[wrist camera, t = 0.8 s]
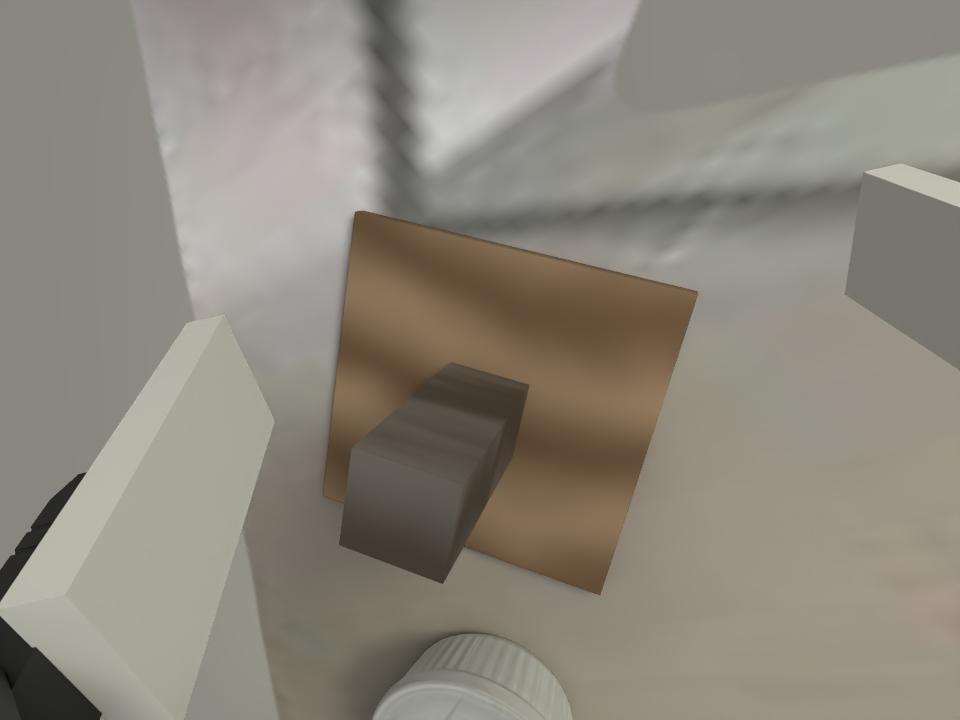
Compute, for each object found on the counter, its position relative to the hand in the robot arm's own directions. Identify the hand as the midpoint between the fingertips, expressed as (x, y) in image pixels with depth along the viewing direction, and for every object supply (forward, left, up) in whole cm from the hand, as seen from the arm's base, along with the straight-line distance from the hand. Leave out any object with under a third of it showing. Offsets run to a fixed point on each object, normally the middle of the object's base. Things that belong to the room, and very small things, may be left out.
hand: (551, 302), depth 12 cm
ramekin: (+27, 0, -15) cm, 31 cm away
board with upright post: (+9, -4, -15) cm, 18 cm away
